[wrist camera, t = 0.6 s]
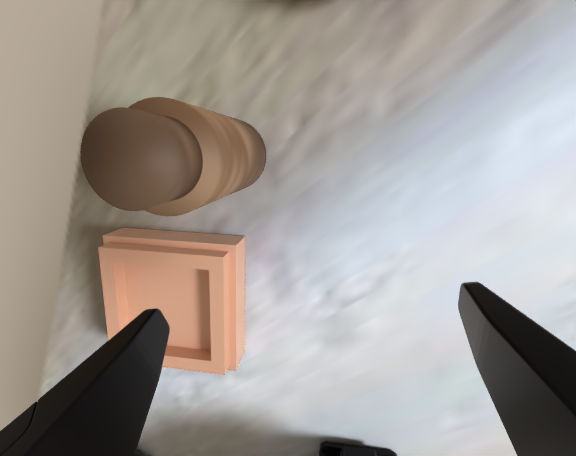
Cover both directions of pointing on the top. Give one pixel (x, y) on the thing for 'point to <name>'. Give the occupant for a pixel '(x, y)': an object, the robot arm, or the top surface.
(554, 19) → the top surface
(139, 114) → the pepper mill
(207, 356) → the mill holder
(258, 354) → the top surface
